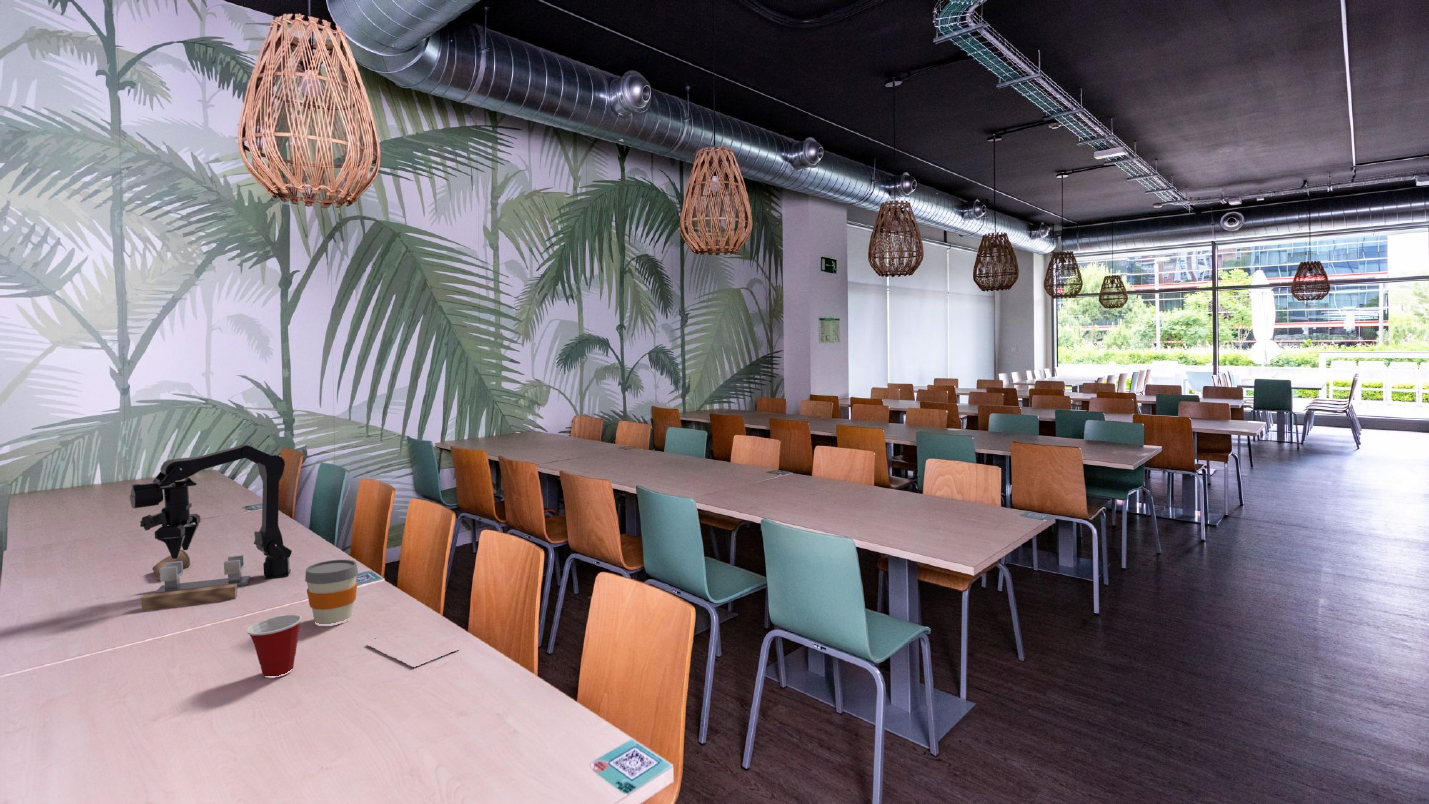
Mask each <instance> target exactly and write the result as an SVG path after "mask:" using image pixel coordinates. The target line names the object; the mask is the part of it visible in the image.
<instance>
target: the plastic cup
mask: <svg viewBox="0 0 1429 804" xmlns="http://www.w3.org/2000/svg"><path fill="white" fill-rule="evenodd" d="M302 621H303V617H302V615H300V614H295V613H294V614H284V615H277V616H273V617H270V618H269V617H268V618H266V619H262V620H260V621H257V622H255V623H253V624H252V625H250V626H248V628H246V629H245V630H246V634H247V635H249V636H250V638H251V640H252V643H253V645H254V649H255V652H256V656H257V659H258V663H259V665H260V669H261V674H262V675H264V676H279V675H281V674H285V673H287V672H288V671H290V670H291V669H294V667H295V657H296V654H297V646H298V638H299V633H300V626H301V622H302ZM264 676H263V677H264Z"/></svg>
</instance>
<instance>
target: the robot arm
mask: <svg viewBox="0 0 1429 804" xmlns="http://www.w3.org/2000/svg"><path fill="white" fill-rule="evenodd" d="M243 459H246V460H248V461H251V462H252V463H254V464H257V468H258V473H259V477H260V479H261V481H262V497H261V498H262V500H261V501H262V503H261V504H262V507H261V509H262V510H261V511H262V512H261V526H260V529H259V531H258V530H257V531H253V532H254V534H253V535H254V542H253V544H254V545H256V546H255V547H256V549H257V550H258V551H260V552H262V554H263V555H264V556H265V558H264V560H265V561H264V562H263V564H262V565H263V566H262V567H263V576H265V577H264V579H265V580H266V579H276V578H284V577H289V575H290V573H291V572H292V571H291V569H290V557H291V555H292V552H293V551H292V550H291V549H290V548H288V547H287V546H286V545H284V540H283V535H282V532H281V529H280V527H279V513H280V511H279V505H280V504H279V503H280V501H279V500H280V481H281V479H282V477H283V476H284V471H285V466H286V461H285V458H283V457H282V456H280V455H278V454H273V453H266V452H264V451H262V450H259V449H258V448H255V447H254V446H252V445H249V444H245V443H243V444H240V445H238V446H234V447H231V448H226V449H222V450H219V451H215V452H211V453H207V454H203V455H200V456H194V457H181V458H173V459H168V460H166V461H164V462H163V463H162V465H161V466H160V471H159V473H158V474H157V475H156V477H155V478H154V479H153V480H152V482H148V483H135V484H131V489H130V495H129V500H130V501H129V502H130V505H131V508H132V509H141V508H148V507H154V506H159V505H160V503H162V502H163V501H164V507H162V509H160V510H161V511H160V512H158V513H156V514H153V515H152V514H148V515H146V516H142V517H141V520H140V521H139V523H140V525H139V526H140V528H143V529H144V531H148V530H150V529H153V528H155V527H157V526H160V525H161V526H160V527H159V528H157V529H156V530H155V531H154V539H156V540H157V541H160V542H162V543H164V544H165V545H166V548H167V550H168V552H169V554H170V555H171V557H172V559H177V558H178V555H179V552H180V550H184V551H188V550H189V548H190V545H191V543H192V540H193V538H194V536H195V534H196V532H197V530H198V527H199V526H200V523H201V516H200V515H199V514H198V513H190V512H191V511H190V509H191V507H193V506H192V503H190V495H189V487H194V486H197V482H195V481H193V480H192V479H191V478H190V477H192V476H194V475H197V473H199V472H201V471H203V470H206V469H209V468H213V467H217V466H221V465H224V464H225V465H226V464H229V463H232V462H236V461H240V460H243Z"/></svg>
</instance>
